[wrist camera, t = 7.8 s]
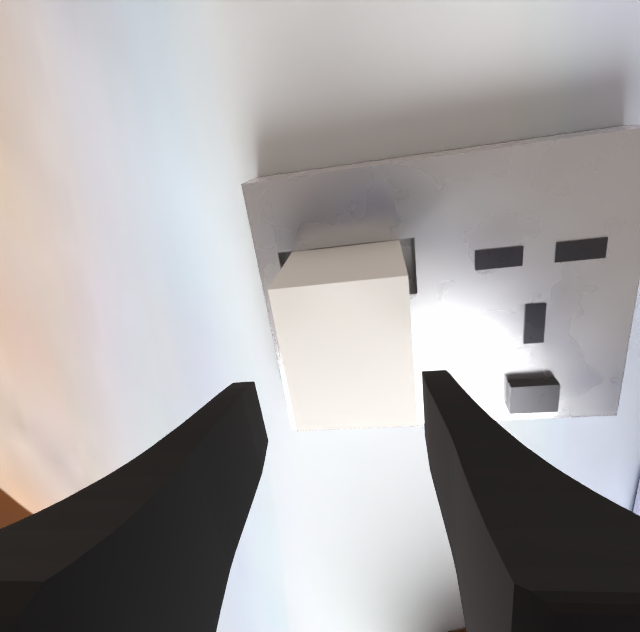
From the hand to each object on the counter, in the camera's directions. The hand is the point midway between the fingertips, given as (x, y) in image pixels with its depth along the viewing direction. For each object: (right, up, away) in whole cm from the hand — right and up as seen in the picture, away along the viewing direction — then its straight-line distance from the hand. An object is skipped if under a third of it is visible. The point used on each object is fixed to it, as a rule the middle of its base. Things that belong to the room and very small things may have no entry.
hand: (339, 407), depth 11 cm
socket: (+5, +4, +9) cm, 11 cm away
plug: (+1, +4, +8) cm, 9 cm away
